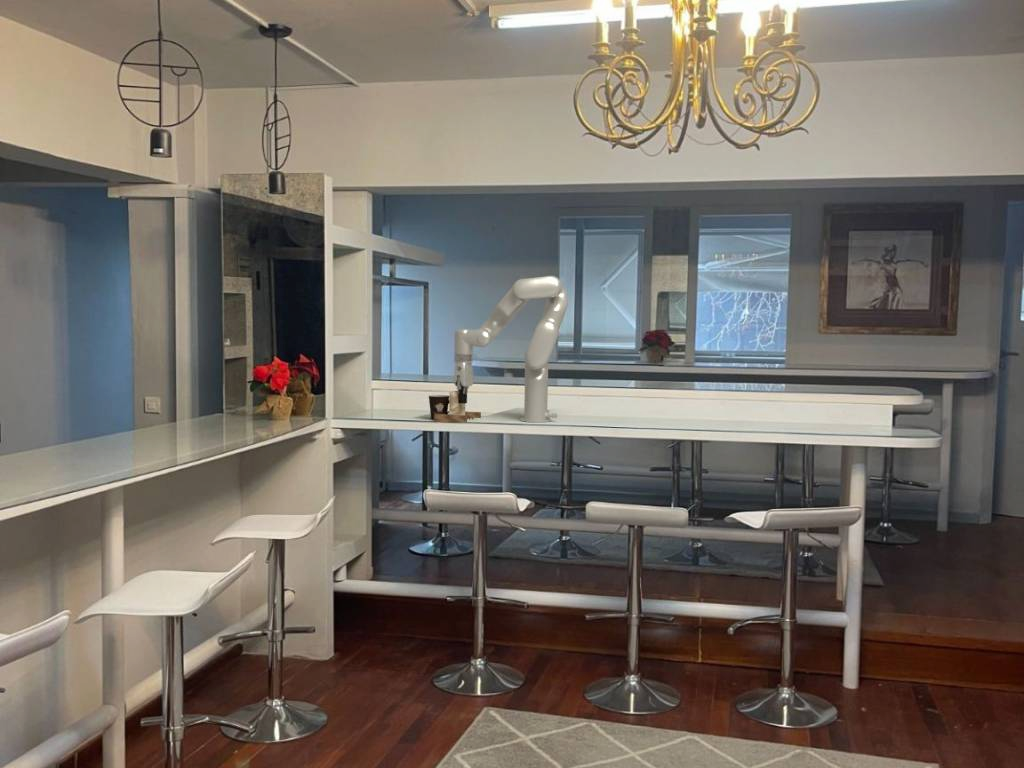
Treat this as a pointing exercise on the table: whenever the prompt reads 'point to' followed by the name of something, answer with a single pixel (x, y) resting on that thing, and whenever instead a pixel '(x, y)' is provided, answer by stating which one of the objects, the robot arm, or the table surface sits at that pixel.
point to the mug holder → (456, 417)
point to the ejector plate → (455, 404)
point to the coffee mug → (438, 404)
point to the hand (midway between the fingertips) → (462, 403)
